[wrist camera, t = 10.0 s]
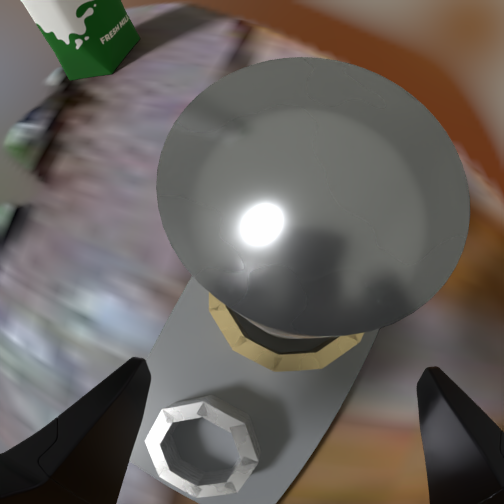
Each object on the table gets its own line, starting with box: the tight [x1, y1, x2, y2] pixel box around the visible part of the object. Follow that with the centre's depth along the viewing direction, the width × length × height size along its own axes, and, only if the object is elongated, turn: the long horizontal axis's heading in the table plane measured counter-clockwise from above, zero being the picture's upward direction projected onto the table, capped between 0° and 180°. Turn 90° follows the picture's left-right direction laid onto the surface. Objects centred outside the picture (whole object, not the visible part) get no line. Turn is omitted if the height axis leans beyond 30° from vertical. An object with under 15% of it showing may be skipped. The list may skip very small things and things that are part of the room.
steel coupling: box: [156, 57, 470, 339], centre depth 10 cm, size 5×5×13 cm
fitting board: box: [129, 276, 380, 504], centre depth 16 cm, size 19×11×1 cm, turn 152°
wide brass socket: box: [209, 292, 364, 372], centre depth 15 cm, size 8×8×2 cm
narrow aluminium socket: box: [145, 395, 261, 498], centre depth 13 cm, size 6×6×2 cm
